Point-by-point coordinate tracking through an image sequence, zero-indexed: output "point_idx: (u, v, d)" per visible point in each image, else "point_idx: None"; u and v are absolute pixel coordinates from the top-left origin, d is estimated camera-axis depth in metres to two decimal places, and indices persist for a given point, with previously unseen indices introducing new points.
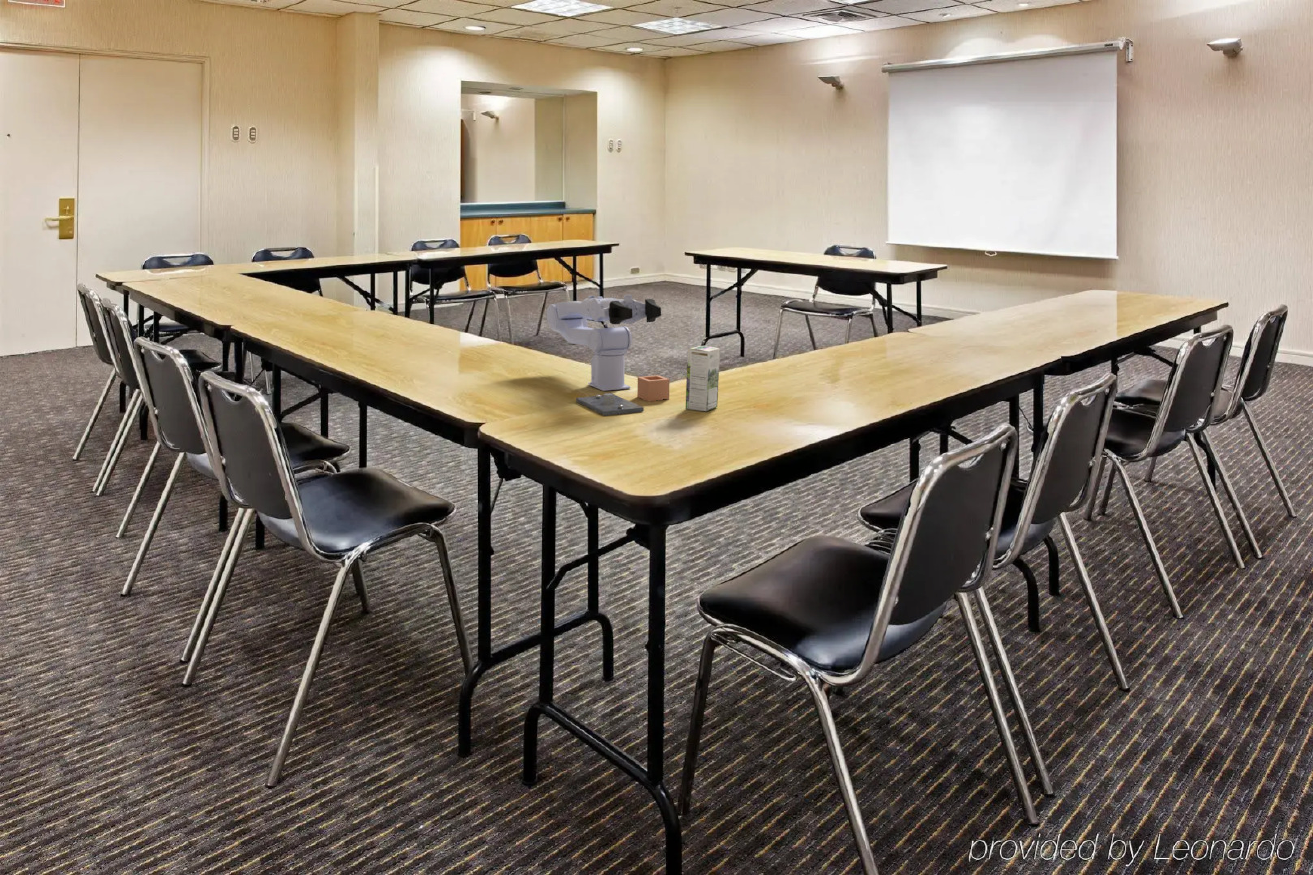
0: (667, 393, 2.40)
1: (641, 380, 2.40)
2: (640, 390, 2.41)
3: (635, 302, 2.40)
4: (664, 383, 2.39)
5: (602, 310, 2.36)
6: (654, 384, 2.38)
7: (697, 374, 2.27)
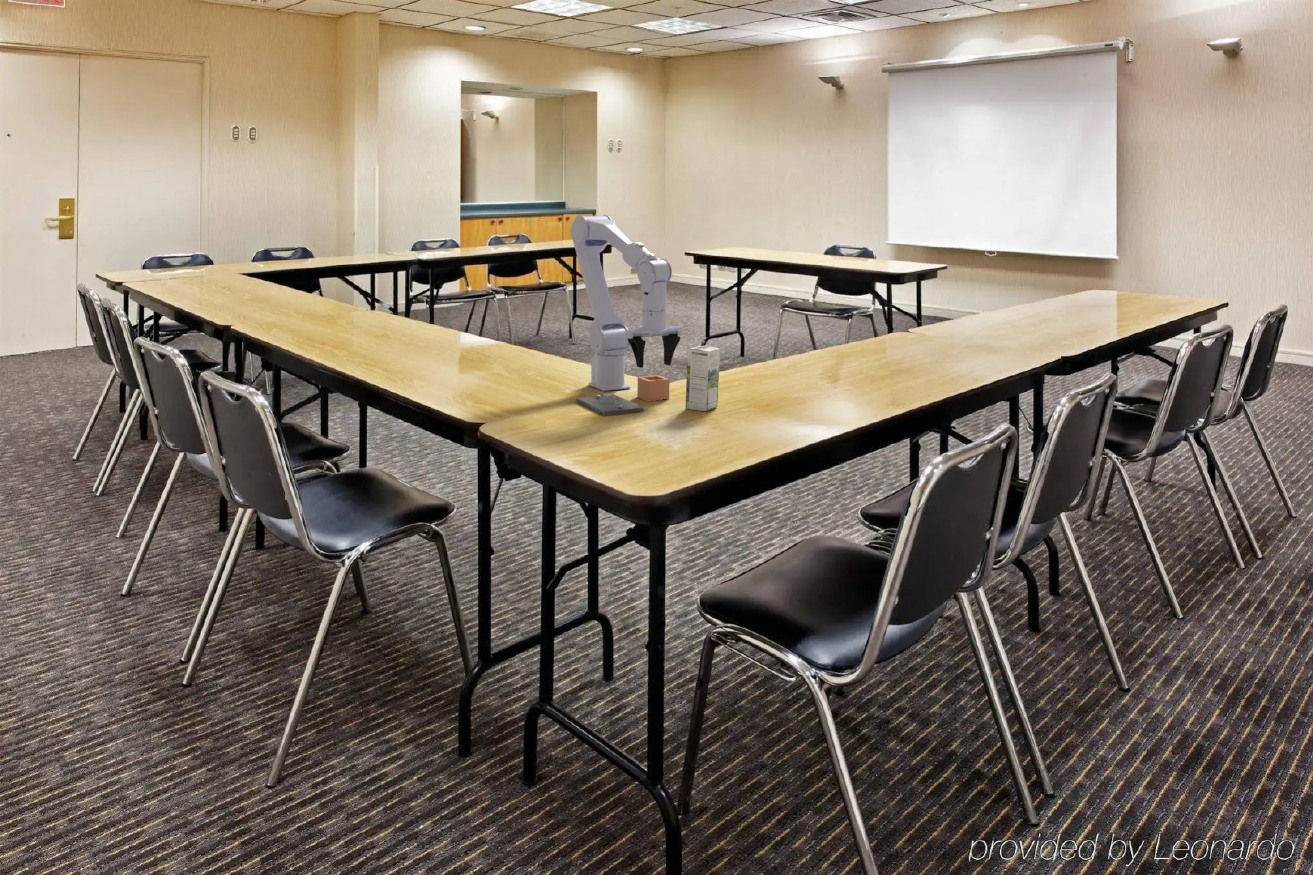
0: (667, 393, 2.40)
1: (641, 380, 2.40)
2: (640, 390, 2.41)
3: None
4: (664, 383, 2.39)
5: (628, 333, 2.34)
6: (654, 384, 2.38)
7: (697, 374, 2.27)
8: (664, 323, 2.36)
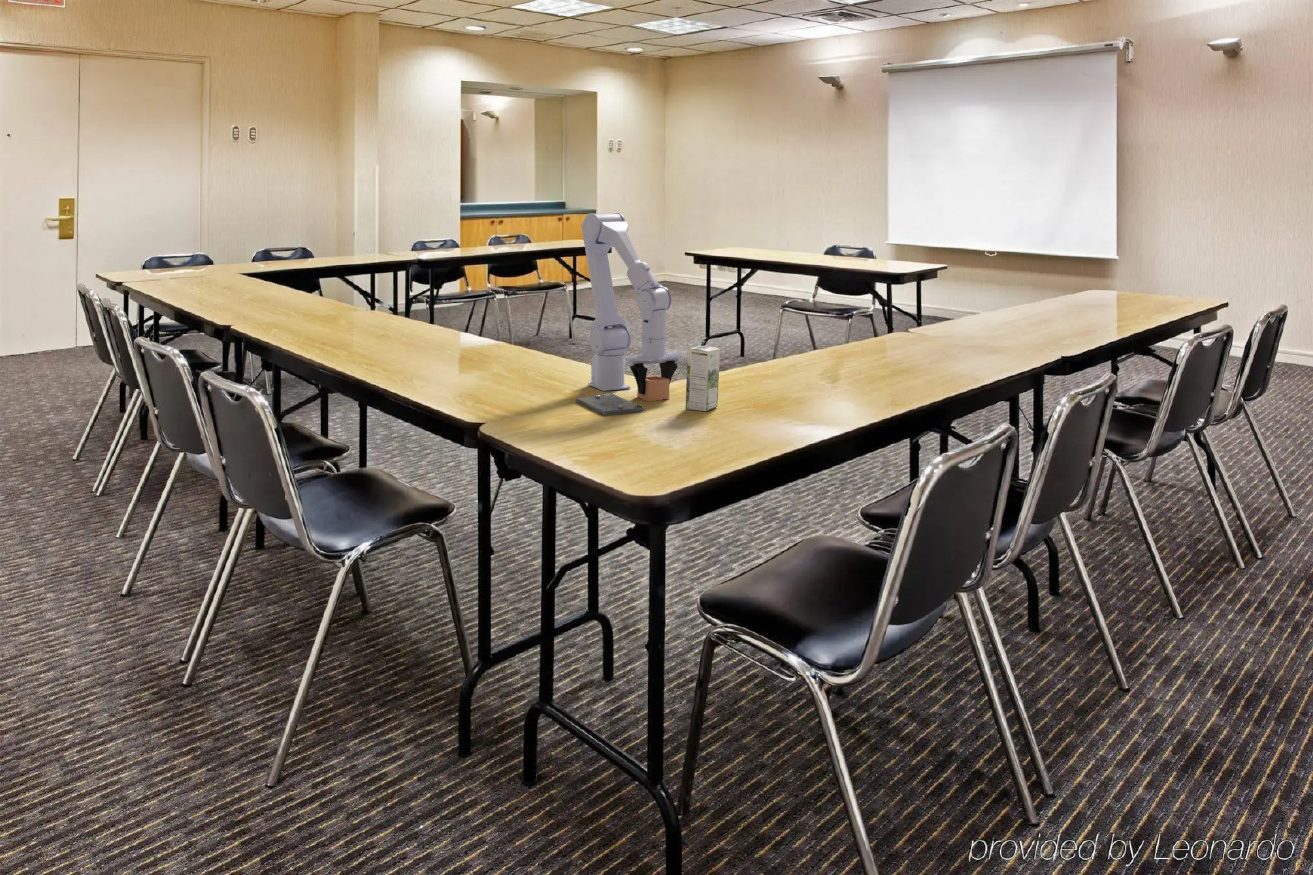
0: (667, 393, 2.40)
1: None
2: None
3: (664, 359, 2.39)
4: (664, 383, 2.39)
5: (628, 361, 2.36)
6: (654, 384, 2.38)
7: (697, 374, 2.27)
8: (664, 350, 2.38)
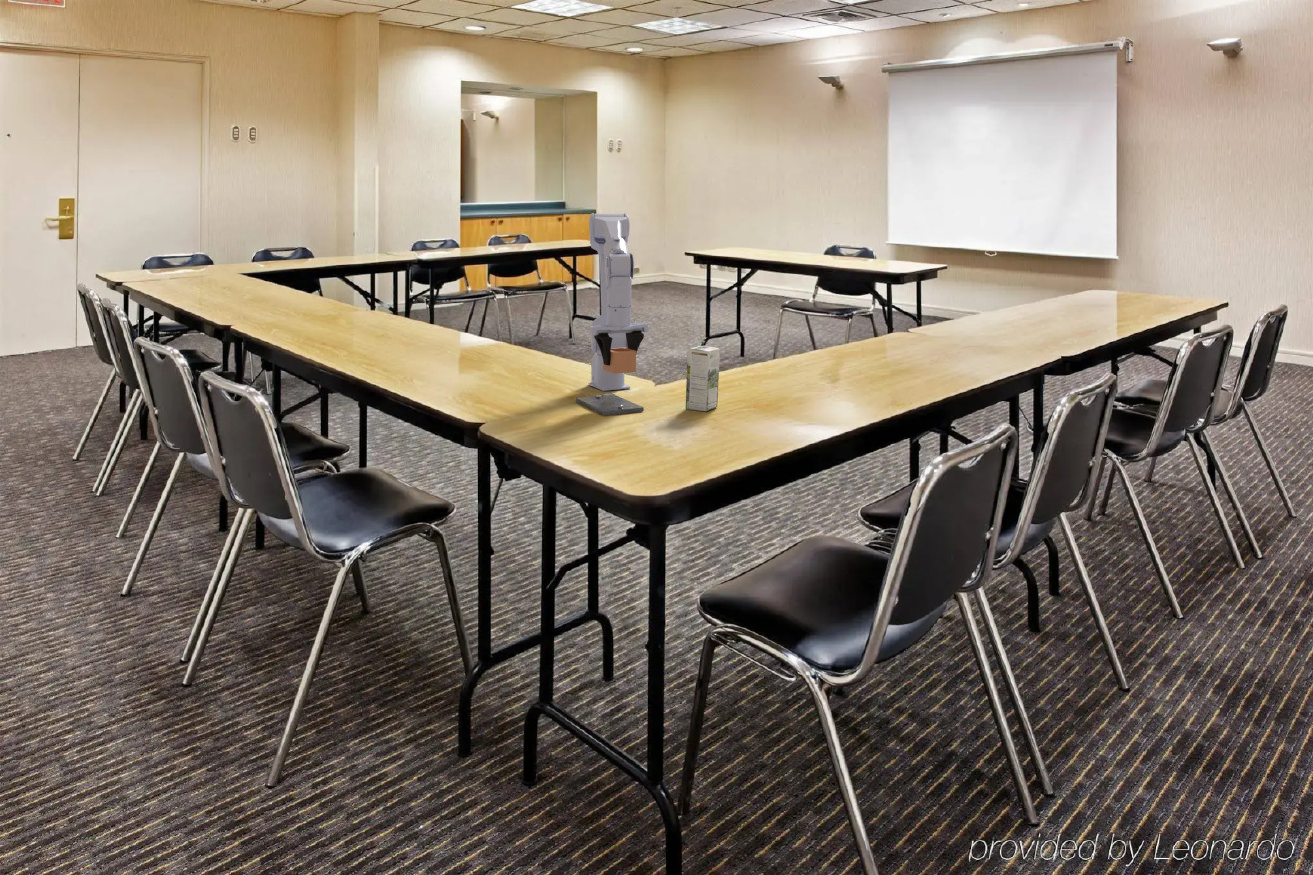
0: (634, 365, 2.30)
1: None
2: None
3: (629, 329, 2.29)
4: (630, 355, 2.29)
5: (592, 330, 2.26)
6: (620, 356, 2.28)
7: (697, 374, 2.27)
8: (629, 319, 2.28)
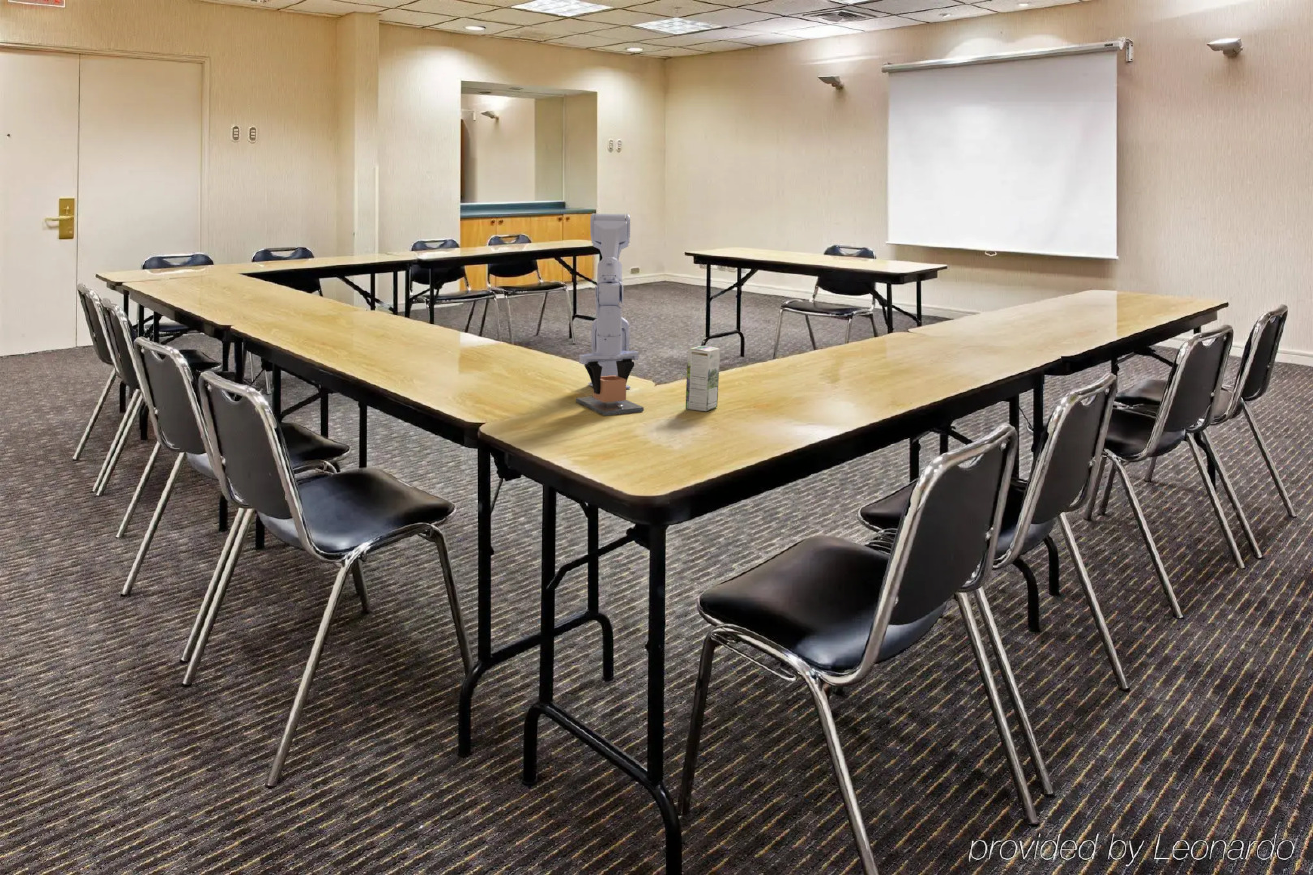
0: (624, 394, 2.30)
1: None
2: None
3: (619, 357, 2.28)
4: (620, 383, 2.29)
5: (582, 359, 2.25)
6: (610, 384, 2.27)
7: (697, 374, 2.27)
8: (619, 348, 2.27)
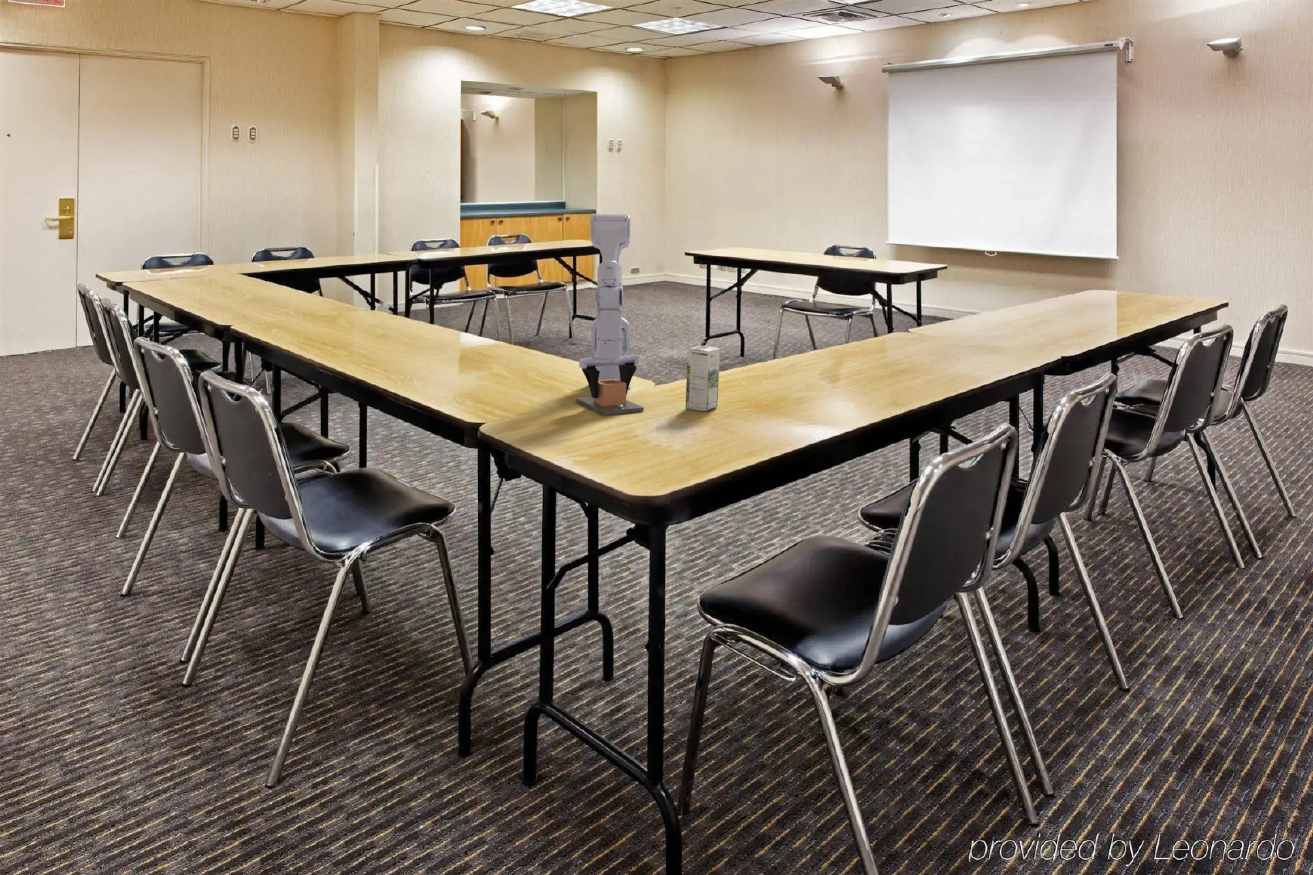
0: (624, 397, 2.30)
1: None
2: None
3: (619, 361, 2.28)
4: (620, 387, 2.29)
5: (582, 363, 2.26)
6: (610, 388, 2.28)
7: (697, 374, 2.27)
8: (619, 352, 2.28)
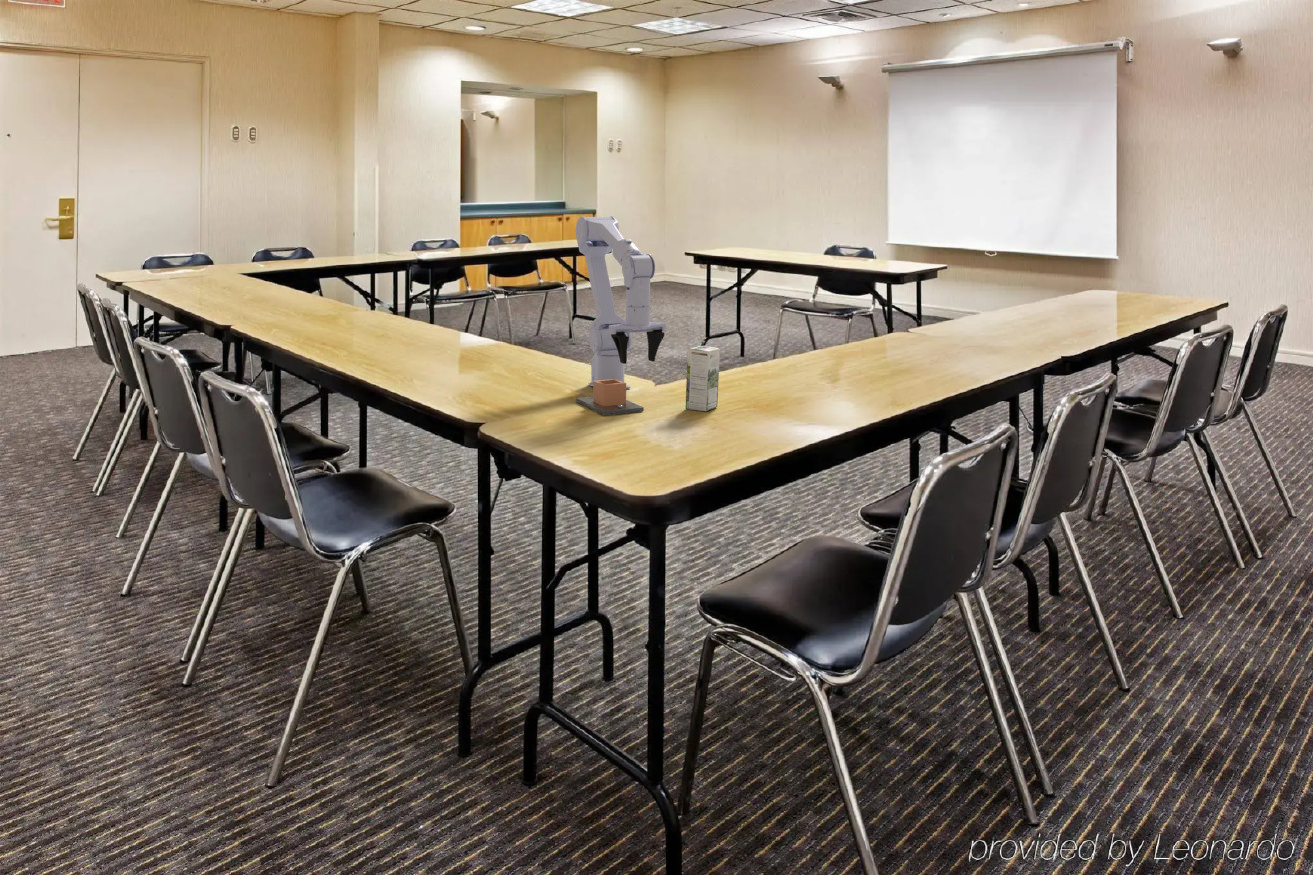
0: (624, 397, 2.30)
1: (597, 384, 2.30)
2: (596, 395, 2.31)
3: None
4: (620, 387, 2.29)
5: (611, 329, 2.32)
6: (610, 388, 2.28)
7: (697, 374, 2.27)
8: (648, 319, 2.34)
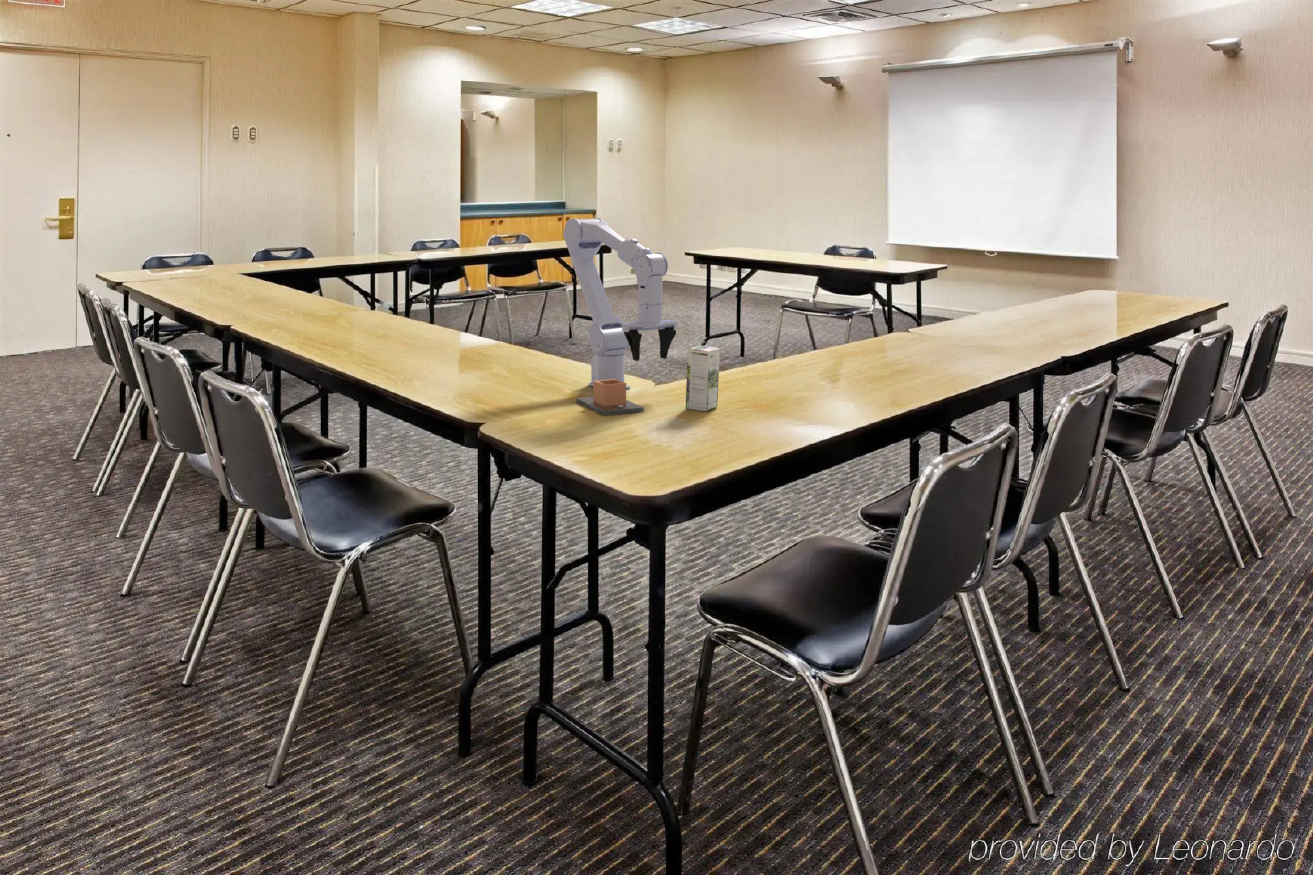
0: (624, 397, 2.30)
1: (597, 384, 2.30)
2: (596, 395, 2.31)
3: None
4: (620, 387, 2.29)
5: (624, 326, 2.35)
6: (610, 388, 2.28)
7: (697, 374, 2.27)
8: (660, 317, 2.38)
